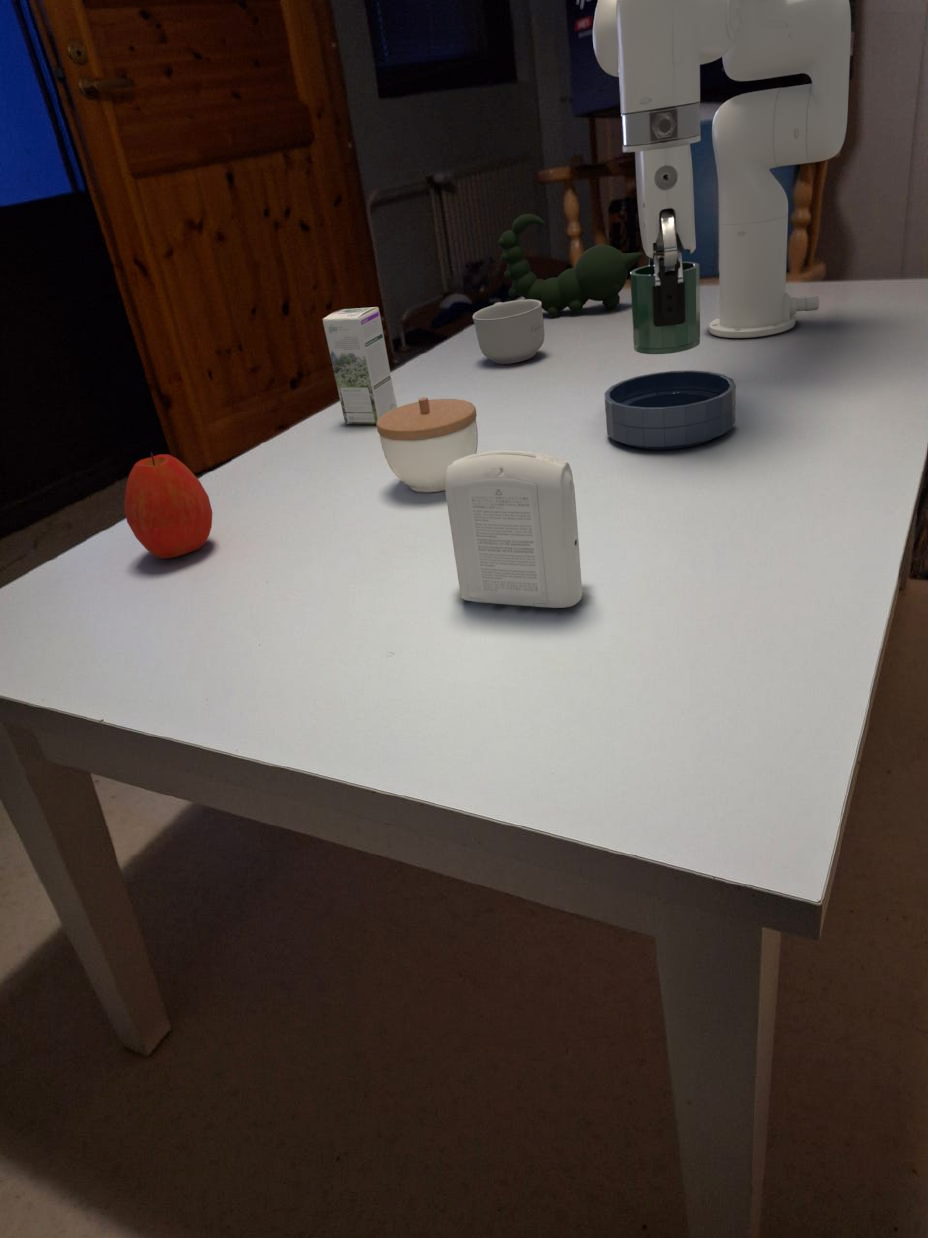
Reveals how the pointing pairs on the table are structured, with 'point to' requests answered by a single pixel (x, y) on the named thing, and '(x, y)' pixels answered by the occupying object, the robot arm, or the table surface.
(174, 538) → the apple
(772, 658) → the table surface
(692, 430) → the blue bowl
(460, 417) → the trinket box
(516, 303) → the teacup
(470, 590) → the photo printer
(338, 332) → the syrup box
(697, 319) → the green cup
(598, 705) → the table surface
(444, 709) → the table surface
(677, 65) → the robot arm
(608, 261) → the toy figurine
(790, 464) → the table surface
